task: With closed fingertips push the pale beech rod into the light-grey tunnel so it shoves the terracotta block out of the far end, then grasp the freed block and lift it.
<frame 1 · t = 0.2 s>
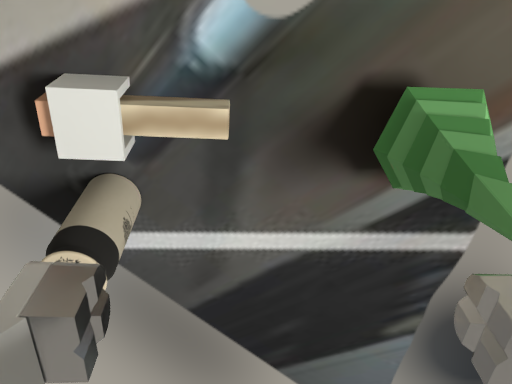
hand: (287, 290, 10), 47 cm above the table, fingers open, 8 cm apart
tunnel: (101, 109, 56), on the table
rod: (161, 110, 57), on the table
travel mug: (114, 196, 63), on the table
decorative tree: (414, 122, 58), on the table
block: (70, 107, 56), on the table
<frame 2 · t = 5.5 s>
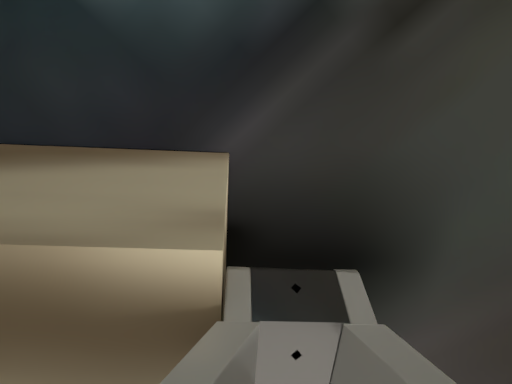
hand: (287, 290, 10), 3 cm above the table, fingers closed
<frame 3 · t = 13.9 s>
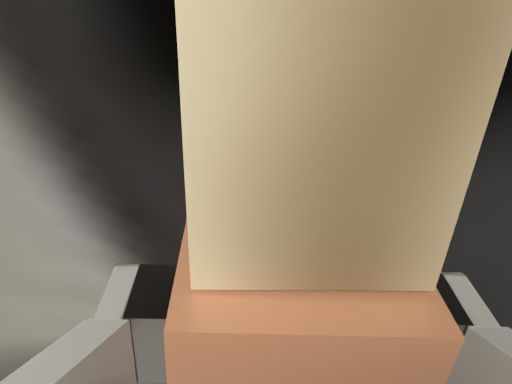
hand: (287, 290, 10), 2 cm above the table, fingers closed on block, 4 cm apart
block: (280, 261, 11), on the table, touching gripper
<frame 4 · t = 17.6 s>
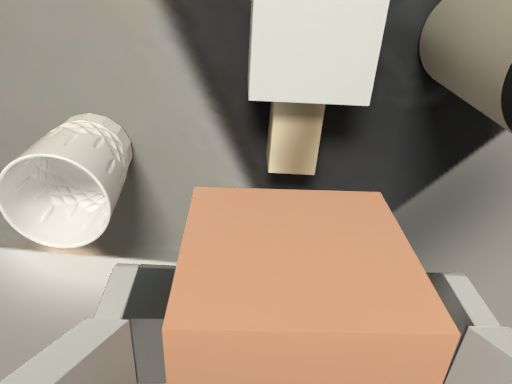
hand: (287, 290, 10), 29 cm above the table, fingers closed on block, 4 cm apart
tunnel: (305, 31, 35), on the table
rod: (298, 56, 36), on the table
white cup: (96, 146, 39), on the table
travel mug: (465, 36, 35), on the table
block: (281, 263, 11), point 27 cm above the table, touching gripper
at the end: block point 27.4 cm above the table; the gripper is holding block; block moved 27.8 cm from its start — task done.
